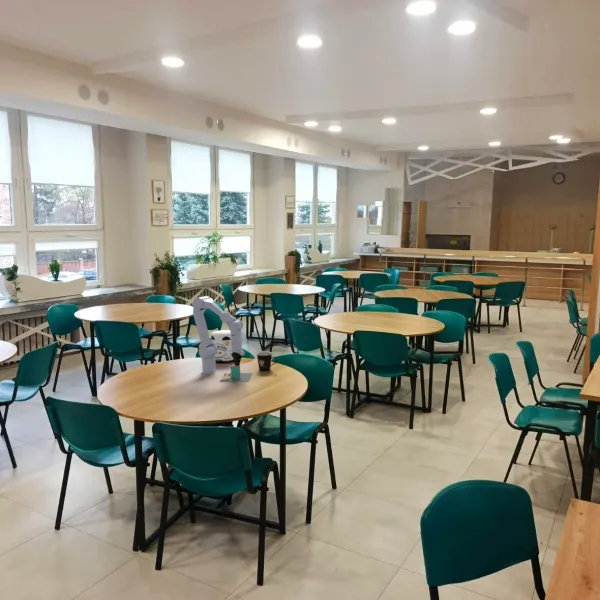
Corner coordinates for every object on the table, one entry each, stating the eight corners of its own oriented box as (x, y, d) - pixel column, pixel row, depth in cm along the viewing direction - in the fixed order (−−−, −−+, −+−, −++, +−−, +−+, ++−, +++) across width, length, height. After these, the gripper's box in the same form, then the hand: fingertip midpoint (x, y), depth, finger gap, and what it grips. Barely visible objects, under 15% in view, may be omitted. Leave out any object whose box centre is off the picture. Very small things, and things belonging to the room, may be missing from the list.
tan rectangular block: (231, 378, 302) (231, 365, 301) (240, 378, 302) (240, 365, 301) (231, 379, 300) (230, 366, 300) (240, 379, 300) (239, 366, 299)
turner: (225, 373, 312) (225, 372, 311) (232, 373, 311) (232, 372, 311) (220, 380, 298) (220, 379, 298) (228, 380, 298) (228, 379, 297)
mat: (225, 373, 313) (225, 373, 313) (252, 373, 312) (252, 373, 312) (219, 382, 295) (219, 382, 295) (248, 382, 294) (248, 382, 294)
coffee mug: (254, 370, 319) (253, 353, 318) (266, 367, 325) (265, 351, 323) (266, 374, 310) (265, 357, 309) (278, 371, 316) (277, 354, 315)
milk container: (212, 365, 333) (211, 336, 331) (209, 358, 350) (208, 330, 347) (240, 362, 338) (239, 334, 335) (236, 356, 354) (235, 329, 352)
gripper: (224, 340, 308) (225, 364, 310) (235, 345, 296) (236, 369, 298) (235, 339, 312) (236, 362, 314) (247, 343, 300) (248, 367, 302)
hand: (237, 365), depth 306 cm, fingers closed
